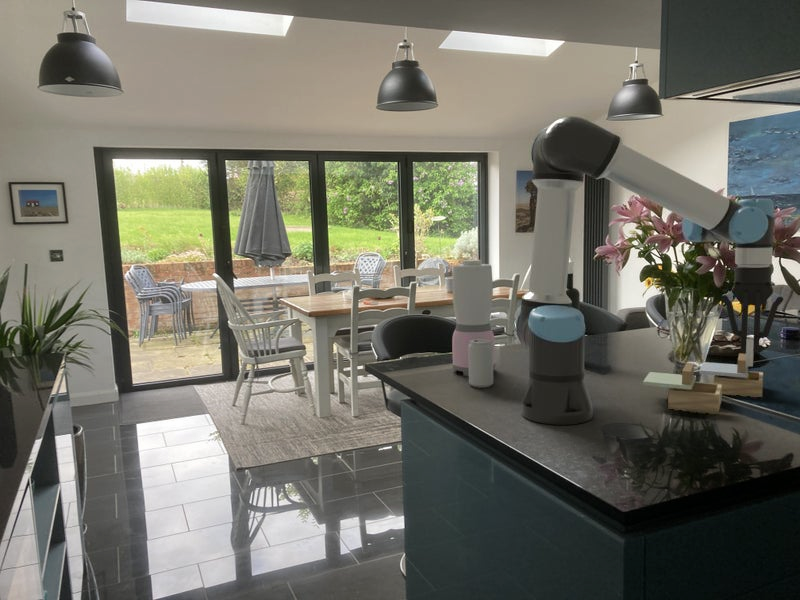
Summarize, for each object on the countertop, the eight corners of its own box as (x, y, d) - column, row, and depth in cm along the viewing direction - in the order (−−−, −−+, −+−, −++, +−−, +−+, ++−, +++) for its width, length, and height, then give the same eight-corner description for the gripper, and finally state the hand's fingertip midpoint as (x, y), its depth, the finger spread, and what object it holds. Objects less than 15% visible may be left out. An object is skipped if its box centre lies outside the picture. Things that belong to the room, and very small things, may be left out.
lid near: (691, 389, 137) (691, 372, 137) (642, 384, 142) (643, 368, 142) (695, 379, 146) (696, 363, 145) (649, 375, 151) (650, 359, 150)
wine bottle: (576, 363, 188) (576, 262, 184) (557, 361, 191) (557, 262, 187) (581, 359, 193) (582, 261, 189) (563, 357, 196) (563, 261, 192)
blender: (500, 375, 176) (499, 260, 172) (458, 377, 174) (456, 262, 171) (485, 363, 192) (483, 258, 188) (446, 365, 190) (443, 259, 186)
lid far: (746, 377, 146) (747, 361, 145) (699, 373, 151) (699, 358, 150) (747, 368, 154) (748, 353, 154) (702, 365, 159) (703, 350, 159)
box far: (762, 400, 145) (762, 381, 144) (713, 395, 150) (714, 377, 149) (762, 389, 153) (763, 372, 153) (716, 385, 158) (717, 368, 158)
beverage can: (474, 381, 170) (474, 337, 168) (497, 383, 167) (496, 339, 165) (464, 386, 164) (464, 341, 163) (487, 389, 161) (487, 343, 160)
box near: (718, 414, 135) (719, 394, 134) (668, 409, 140) (668, 390, 139) (721, 403, 144) (721, 384, 143) (673, 398, 149) (674, 379, 148)
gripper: (785, 265, 147) (781, 364, 149) (722, 264, 153) (719, 359, 156) (786, 267, 140) (781, 371, 143) (720, 266, 147) (717, 365, 150)
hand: (749, 365), depth 149 cm, fingers closed
